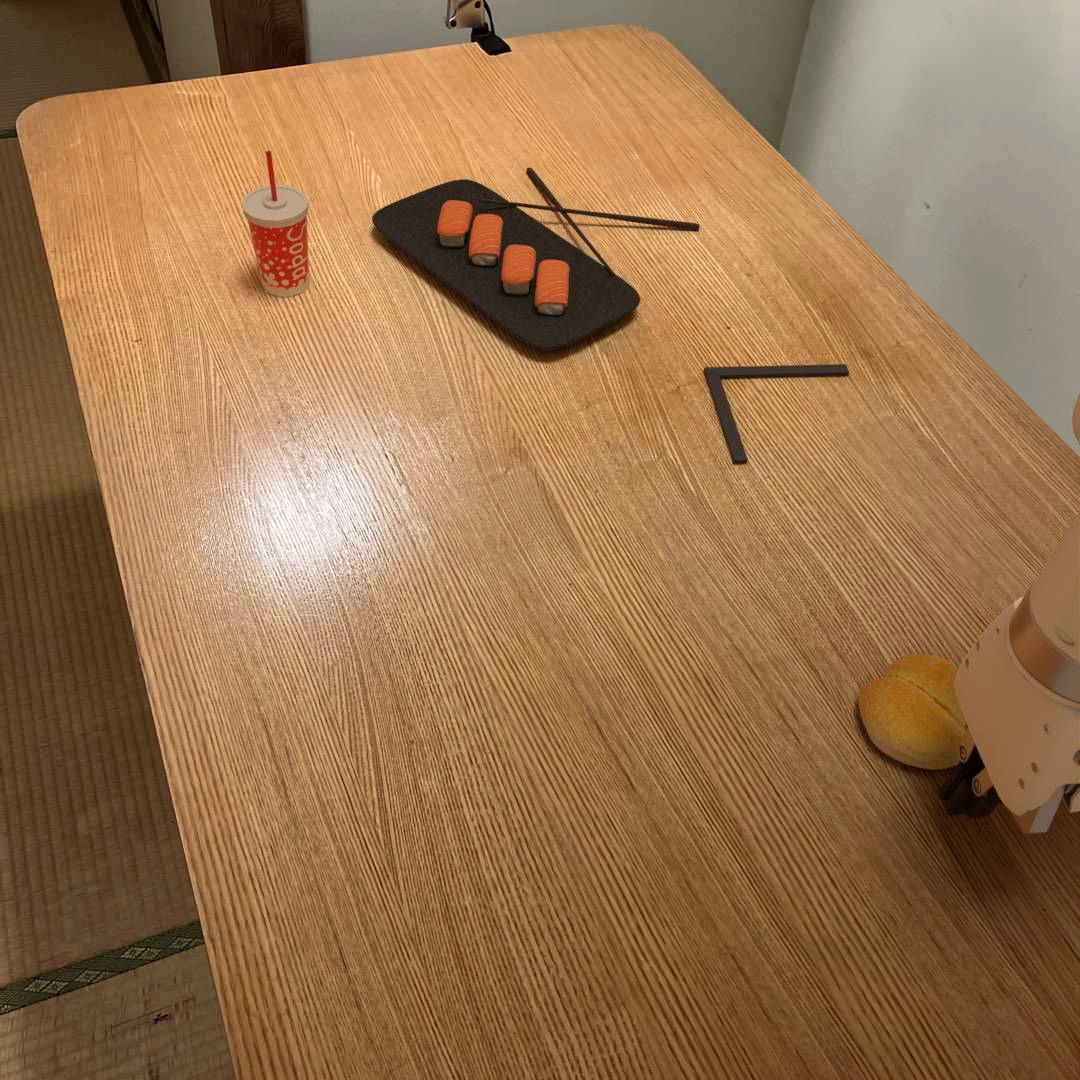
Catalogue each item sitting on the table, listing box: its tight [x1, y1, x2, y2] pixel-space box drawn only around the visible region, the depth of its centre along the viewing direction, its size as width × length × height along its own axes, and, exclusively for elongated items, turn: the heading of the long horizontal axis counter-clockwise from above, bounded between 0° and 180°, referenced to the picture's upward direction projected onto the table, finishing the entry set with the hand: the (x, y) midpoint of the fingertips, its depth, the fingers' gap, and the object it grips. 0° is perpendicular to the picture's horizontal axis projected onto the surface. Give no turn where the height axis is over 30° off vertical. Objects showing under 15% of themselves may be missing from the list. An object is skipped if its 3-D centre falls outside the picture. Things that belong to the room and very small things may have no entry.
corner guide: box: [703, 363, 850, 465], centre depth 99 cm, size 14×13×1 cm
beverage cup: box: [241, 150, 310, 298], centre depth 102 cm, size 6×6×14 cm
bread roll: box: [857, 653, 966, 771], centre depth 76 cm, size 8×9×4 cm
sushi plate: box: [371, 167, 700, 351], centre depth 113 cm, size 29×30×4 cm
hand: (964, 802), depth 71 cm, fingers closed
